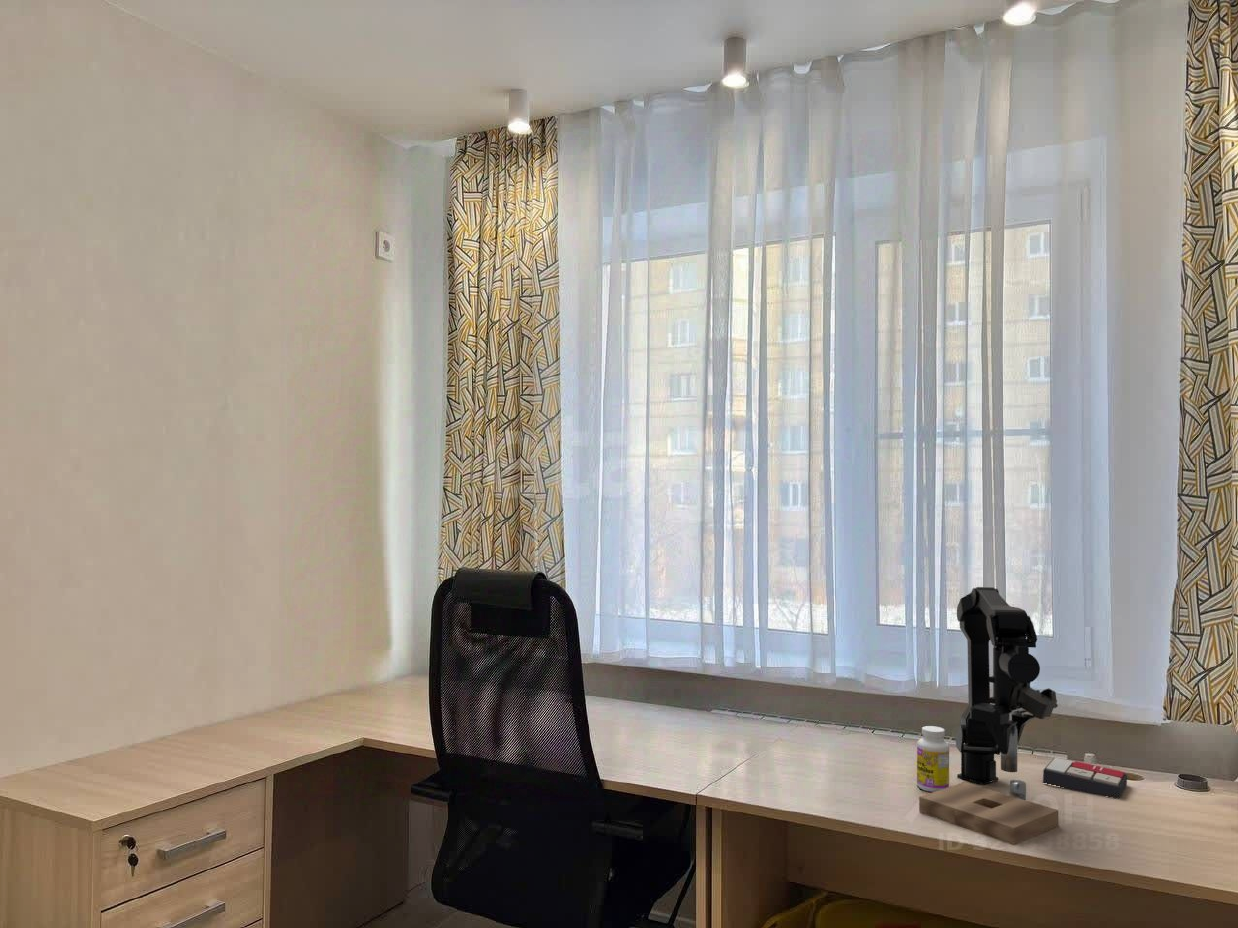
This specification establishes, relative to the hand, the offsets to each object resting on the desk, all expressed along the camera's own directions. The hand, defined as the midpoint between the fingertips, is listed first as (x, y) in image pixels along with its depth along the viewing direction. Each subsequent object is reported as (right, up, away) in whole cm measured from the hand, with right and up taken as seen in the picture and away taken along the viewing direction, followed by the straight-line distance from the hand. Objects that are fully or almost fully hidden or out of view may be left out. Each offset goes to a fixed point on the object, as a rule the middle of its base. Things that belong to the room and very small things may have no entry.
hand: (1008, 752), depth 176 cm
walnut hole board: (-4, -13, 0) cm, 14 cm away
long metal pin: (0, -3, 0) cm, 3 cm away
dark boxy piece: (+26, -15, +21) cm, 37 cm away
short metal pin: (+6, -13, +8) cm, 17 cm away
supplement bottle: (-9, -14, +17) cm, 24 cm away
